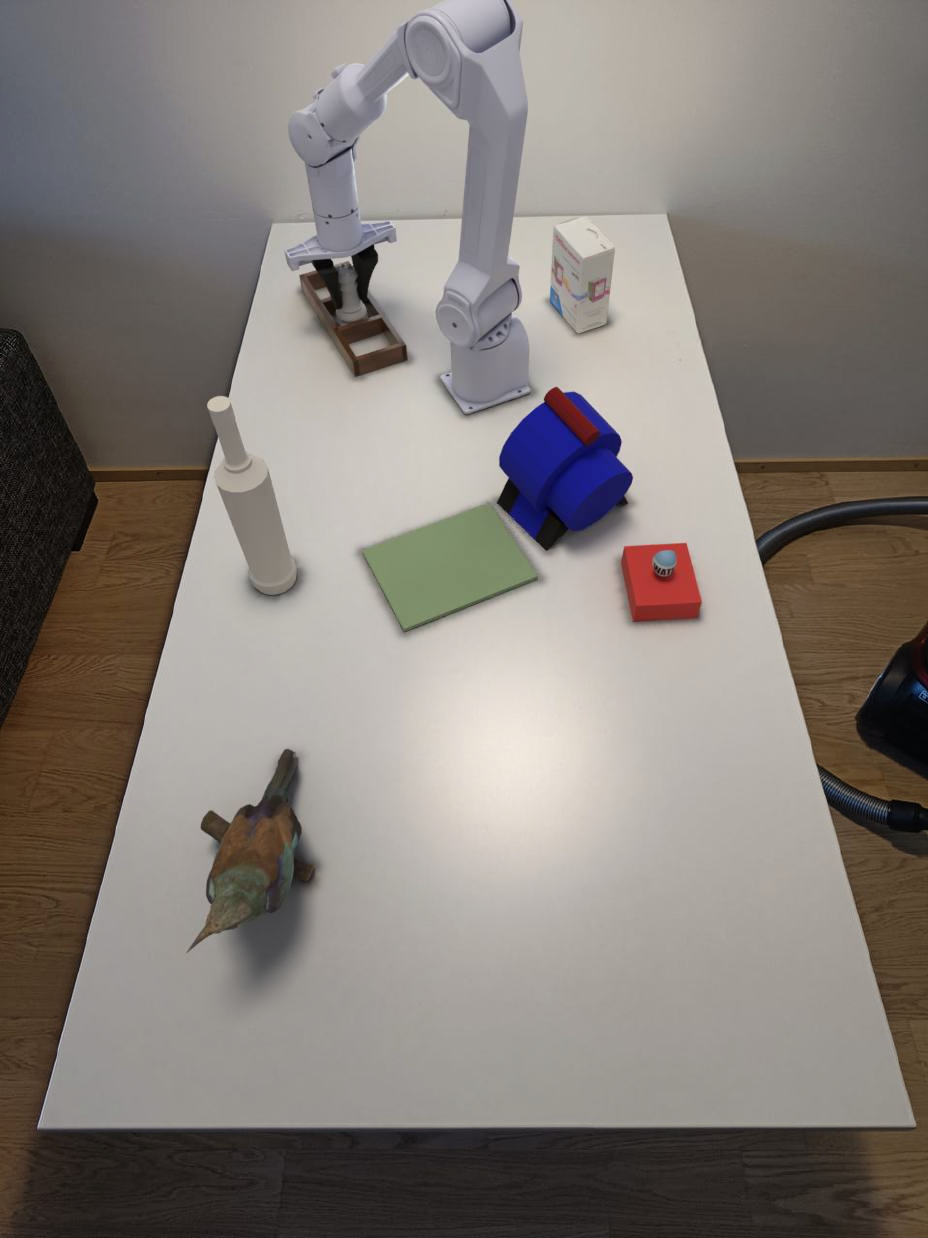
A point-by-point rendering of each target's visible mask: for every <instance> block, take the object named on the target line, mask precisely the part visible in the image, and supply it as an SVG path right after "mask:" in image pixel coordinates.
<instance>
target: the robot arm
mask: <svg viewBox="0 0 928 1238" xmlns="http://www.w3.org/2000/svg"><path fill="white" fill-rule="evenodd" d="M523 29H524V20H523V19H522V17H521V15H520V13H519V12H518V10H517V9H516V7H515V5H514V3H513V1H512V0H442V1H440V2H438V3H437V4H435V5H433V6H431V7H429V8H427V9H422V10H419V11H417V12H416V13H414V14H413V15H412V16H411V18H410V19H409V20H406V21H405V22H403V23H401V24H400V25H398V26H397V27H396V29H395V30H394V32H392V34H391V35H390V36H389V37H388V38H387V40H385V41H384V43H383V44H382V45H381V46H380V47H379V49H378V50H377V51H376V52H375V53H374V54H373V55H372V57H371V58H370V59H369V60H368V62H367V63H366V64H363V63H351V64H348V65H347V63H345V62H344V63H342V64H340V65H338V66H336V67H335V68H334V69H333V70H332V71H331V74H330V75H331V76H332V78H333V79H332V81H331V82H330V83H329V84H328V85H327V86H326V87H321V88H319V89H318V90H316V91H315V92H313V94H312V98H313V101H312V103H311V104H309V105H308V106H306V107H304V108H303V109H298V110H295V111H293V112H292V114H291V117H290V118H289V120H288V123H287V124H288V125H287V134H288V138H289V141H290V143H291V146H292V148H293V150H294V151H295V153H296V154H297V156H298V157H299V158H300V160H302V161H303V162H304V168H305V173H306V178H307V185H308V190H309V196H310V203H311V207H312V214H313V220H314V226H315V231H316V234H315V235H312V236H311V237H309V238H308V239H306V240H304V241H302V242H301V243H298V244H297V245H295V246H292V247H289V248H287V249H284V256H285V261H286V264H287V266H288V267H289V269H290V271H291V272H295V271H298V270H300V267H301V266H305V265H308V264H311V265H312V266H313V267H314V269H315V270H316V271H317V272H318V274H319V275H320V277H321V278H322V279H323V281H324V283H325V285H326V287H325V288H326V289H327V291H328V293H329V297H331V300H332V303H333V304H334V306H335V307H336V309H337V310H338V309H342V302H341V298H340V293H339V286H338V271H337V269H336V268H335V266H334V265H335V264H334V261H333V259H343V258H349V257H350V258H351V264H352V266H354V269H355V270H356V271H357V272H358V277H357V278H356V280H355V281H357V283H358V286H357V292H358V295H359V298H360V299H361V301H362V302H365V301H367V294H368V290H369V289H370V288H369V287H370V283H371V279H372V276H373V273H374V271H375V268H376V267H377V265H378V263H379V253H378V251H377V250H376V248H375V245H378V244H382V243H386V242H388V243H389V244H393V243H396V242H397V241H398V239H397V237H398V236H397V228H396V226H395V225H394V224H393V222H392V221H391V220H386V221H381V222H373V223H372V222H371V223H370V222H369V223H362V219H361V212H360V211H361V210H360V204H359V196H358V189H357V181H356V173H355V166H354V163H355V161H356V159H357V145H358V143H359V141H360V139H361V135H362V134H363V133H364V132H365V131H366V130H368V129H369V128H370V127H371V126H372V125H373V124H375V122H377V121H378V120H379V119H380V118H381V117H382V116H383V115H384V114H385V112H386V109H387V106H388V105H387V104H388V97H387V94H388V93H389V92H391V91H392V90H393V89H395V87H397V86H398V85H399V84H400V83H401V82H403V81H404V80H406V78H408V77H409V78H411V79H412V80H418V79H420V81H422V83H423V84H424V85H425V87H427V88H428V89H429V90H430V91H431V93H433V94H434V95H435V97H437V98H438V99H439V100H440V102H442V103H443V105H444V106H445V107H446V108H447V109H448V110H449V111H450V113H452V114H453V115H454V116H455V117H456V118H457V119H459V120H463V121H467V122H468V126H469V127H468V128H469V129H468V138H467V139H468V141H467V151H466V165H465V174H464V175H465V177H464V190H463V201H462V202H463V203H462V213H461V223H460V224H461V225H460V237H459V251H458V260H457V262H456V264H455V266H454V268H453V270H452V271H451V273H450V275H449V276H448V278H447V280H446V282H445V283H444V286H443V294H442V297H441V299H440V300H439V301H438V303H437V305H436V307H435V319H436V322H437V324H438V325H437V326H438V328H439V330H440V332H441V333H442V334H443V336H444V337H445V339H447V340H448V341H449V342H450V364H451V365H450V366H451V371H449V372H446V373H443V374H441V375H440V378H439V379H440V381H441V382H442V384H443V385H444V387H445V388H446V390H447V391H448V392H449V394H450V395H451V397H452V398H453V400H454V401H455V402H456V404H457V405H458V407H459V408H460V409H461V411H462V412H463V413H464V414H465V415H470V414H473V413H476V412H478V411H481V410H485V409H487V408H490V407H493V406H496V405H499V404H502V403H505V402H508V401H511V400H513V399H516V398H519V397H523V396H526V395H528V394H530V393H531V387H530V386H529V370H530V369H529V367H530V342H529V337H528V333H527V330H526V328H525V326H524V324H523V322H522V321H521V319H520V318H518V316H517V315H513V313H514V311H517V310H518V309H519V308H520V305H521V303H522V300H523V292H522V287H521V284H520V277H519V276H520V268H521V267H520V265H519V264H518V262H517V261H515V260H514V259H513V257H511V256H510V255H509V250H510V245H511V237H512V229H513V222H514V216H515V215H514V214H515V207H516V201H517V193H518V187H519V180H520V179H519V178H520V172H521V165H522V157H523V149H524V142H525V136H526V128H527V121H528V113H529V102H528V101H529V100H528V95H527V89H526V83H525V78H524V71H523V66H522V59H521V54H520V53H521V45H522V35H523Z"/></svg>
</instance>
